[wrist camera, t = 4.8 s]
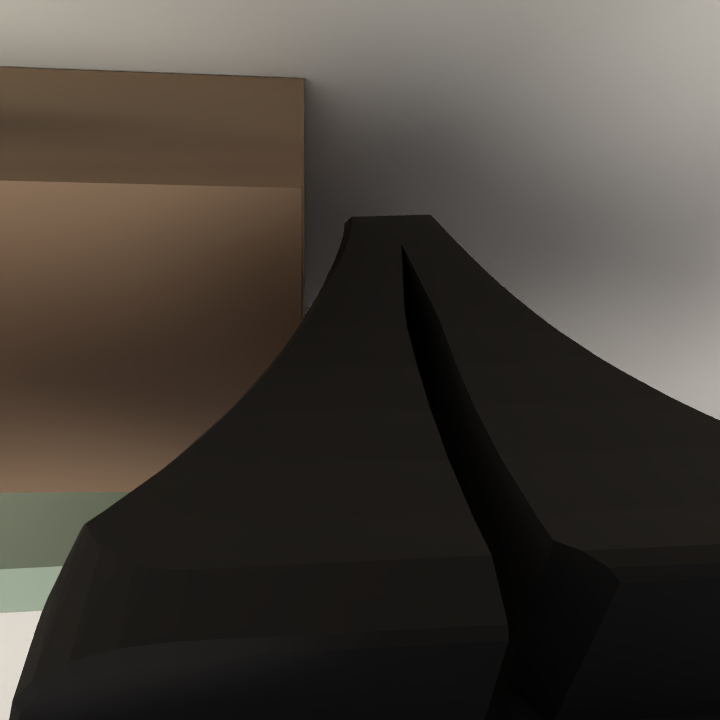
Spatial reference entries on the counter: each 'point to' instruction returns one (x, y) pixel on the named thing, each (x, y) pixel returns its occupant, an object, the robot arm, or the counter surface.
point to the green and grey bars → (41, 541)
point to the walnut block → (140, 264)
